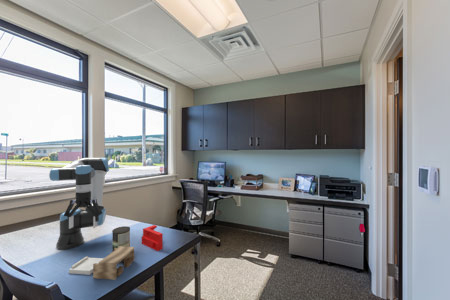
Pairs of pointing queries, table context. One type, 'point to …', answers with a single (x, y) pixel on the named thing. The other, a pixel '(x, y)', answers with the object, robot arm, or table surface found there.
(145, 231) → the bracket
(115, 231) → the coffee can
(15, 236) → the table surface
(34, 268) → the table surface
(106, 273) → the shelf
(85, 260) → the panel
